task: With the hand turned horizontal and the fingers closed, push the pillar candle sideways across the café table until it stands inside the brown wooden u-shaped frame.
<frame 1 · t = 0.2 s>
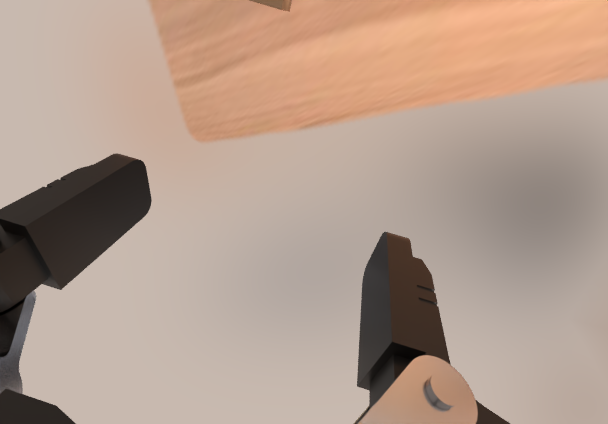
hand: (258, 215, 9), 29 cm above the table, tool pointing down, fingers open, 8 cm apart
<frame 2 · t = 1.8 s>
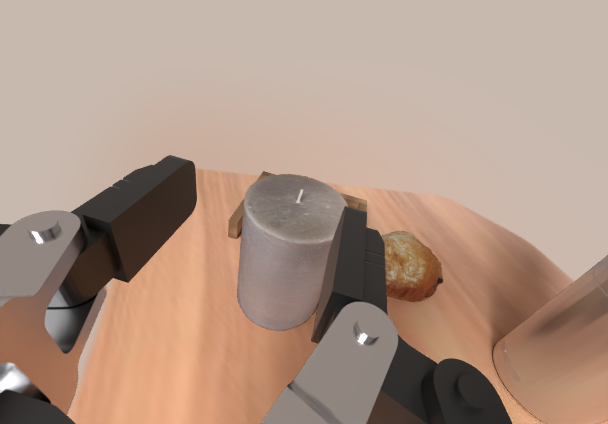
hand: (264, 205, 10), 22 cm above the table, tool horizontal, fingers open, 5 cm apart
pillar candle: (278, 294, 33), on the table
brown wooden u-shaped frame: (301, 226, 43), on the table
bread roll: (397, 275, 40), on the table
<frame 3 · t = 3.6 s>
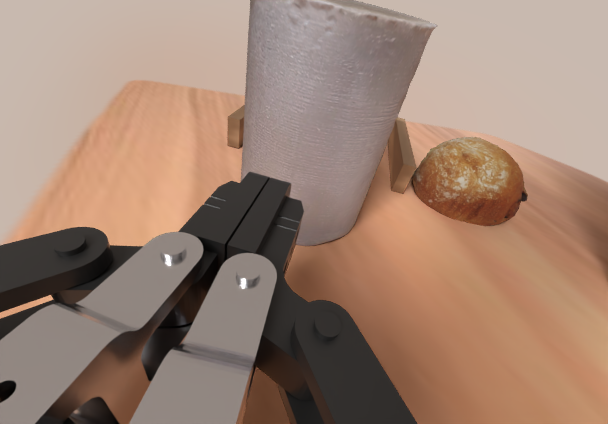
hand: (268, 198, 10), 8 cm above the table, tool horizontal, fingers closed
pillar candle: (298, 207, 23), on the table
brown wooden u-shaped frame: (323, 144, 33), on the table
bread roll: (455, 199, 29), on the table
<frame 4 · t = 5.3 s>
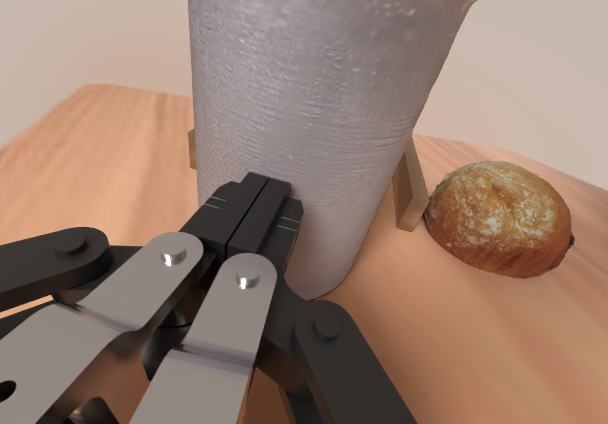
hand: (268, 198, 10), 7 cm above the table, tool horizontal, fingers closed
pillar candle: (278, 244, 18), on the table, touching gripper
brown wooden u-shaped frame: (313, 163, 27), on the table
bread roll: (478, 237, 23), on the table
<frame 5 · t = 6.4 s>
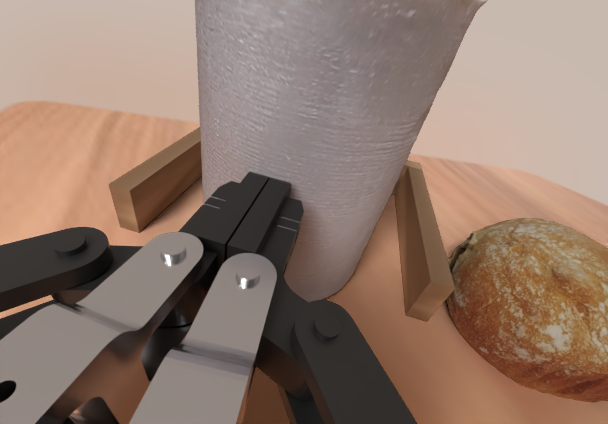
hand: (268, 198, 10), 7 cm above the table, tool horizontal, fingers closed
pillar candle: (282, 246, 18), on the table, touching gripper
brown wooden u-shaped frame: (295, 209, 21), on the table
bread roll: (516, 319, 17), on the table
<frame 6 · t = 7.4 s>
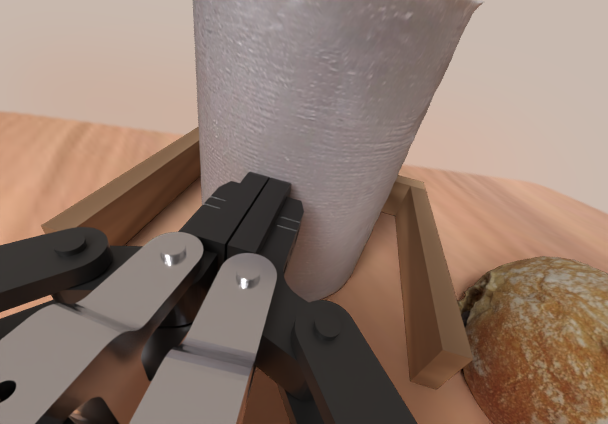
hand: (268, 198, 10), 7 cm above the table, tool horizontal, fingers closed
pillar candle: (281, 246, 18), on the table, touching gripper
brown wooden u-shaped frame: (281, 239, 18), on the table
bread roll: (542, 377, 14), on the table
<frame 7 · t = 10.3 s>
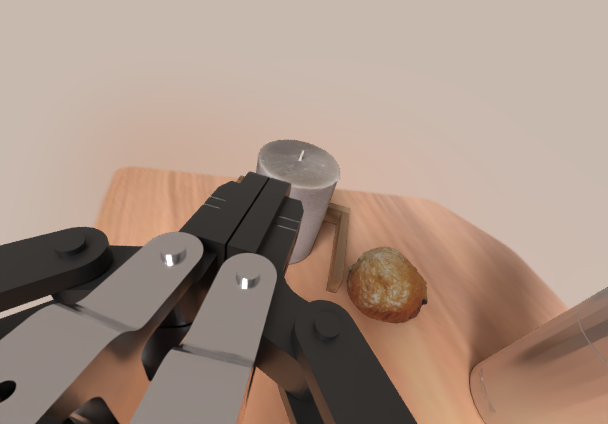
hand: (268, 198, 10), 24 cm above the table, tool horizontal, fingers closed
pillar candle: (280, 240, 41), on the table
brown wooden u-shaped frame: (280, 237, 41), on the table
bread roll: (380, 292, 38), on the table
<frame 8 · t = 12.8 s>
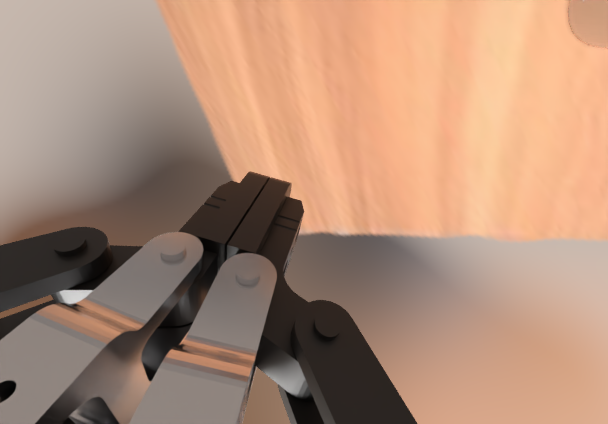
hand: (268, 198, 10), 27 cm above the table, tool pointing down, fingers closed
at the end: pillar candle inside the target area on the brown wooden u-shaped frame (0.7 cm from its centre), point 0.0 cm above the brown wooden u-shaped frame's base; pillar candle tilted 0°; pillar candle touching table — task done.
